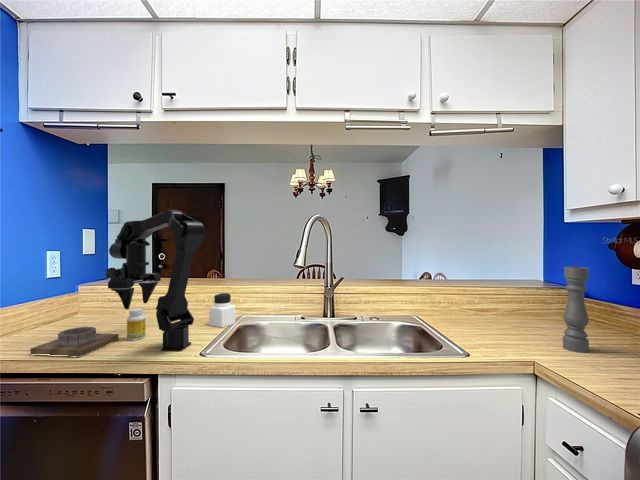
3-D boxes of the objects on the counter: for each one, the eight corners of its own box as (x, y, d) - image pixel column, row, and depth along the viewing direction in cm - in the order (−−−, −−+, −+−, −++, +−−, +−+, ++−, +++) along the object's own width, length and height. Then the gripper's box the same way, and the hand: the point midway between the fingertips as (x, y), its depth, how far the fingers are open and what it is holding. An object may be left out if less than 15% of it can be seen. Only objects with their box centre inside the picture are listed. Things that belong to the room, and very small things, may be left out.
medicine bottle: (235, 323, 124) (235, 293, 124) (221, 328, 118) (221, 296, 117) (223, 321, 127) (223, 291, 127) (208, 325, 121) (208, 294, 121)
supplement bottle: (127, 337, 106) (127, 308, 106) (145, 334, 109) (145, 307, 109) (126, 341, 102) (126, 312, 102) (145, 339, 104) (145, 310, 104)
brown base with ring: (118, 340, 103) (118, 324, 103) (79, 357, 88) (79, 339, 88) (75, 338, 105) (75, 323, 105) (30, 355, 90) (30, 338, 90)
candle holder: (563, 344, 101) (563, 266, 100) (588, 348, 97) (589, 267, 97) (562, 349, 96) (563, 267, 96) (589, 354, 92) (589, 268, 92)
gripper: (132, 257, 115) (132, 300, 115) (91, 261, 97) (91, 312, 97) (161, 257, 114) (161, 300, 114) (125, 261, 96) (125, 312, 96)
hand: (136, 306), depth 105 cm, fingers open, 9 cm apart
